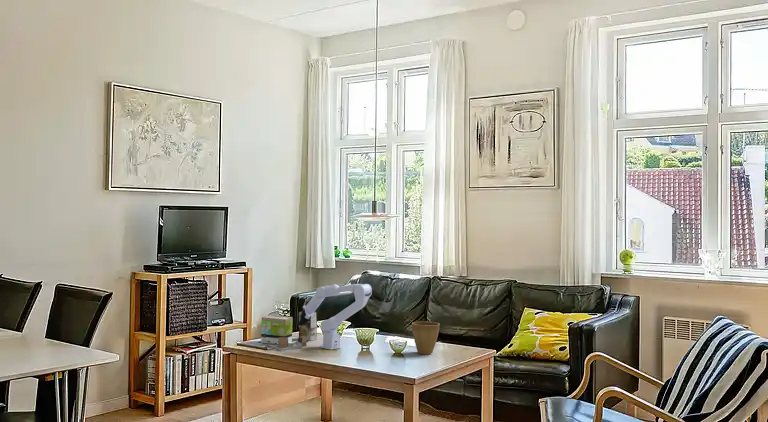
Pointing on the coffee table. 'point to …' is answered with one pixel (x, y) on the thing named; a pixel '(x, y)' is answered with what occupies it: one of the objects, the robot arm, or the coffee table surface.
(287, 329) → the tea box
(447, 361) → the coffee table surface
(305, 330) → the coffee box
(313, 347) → the coffee table surface
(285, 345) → the rail
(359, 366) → the coffee table surface
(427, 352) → the plant pot
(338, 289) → the robot arm
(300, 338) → the block
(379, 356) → the coffee table surface
